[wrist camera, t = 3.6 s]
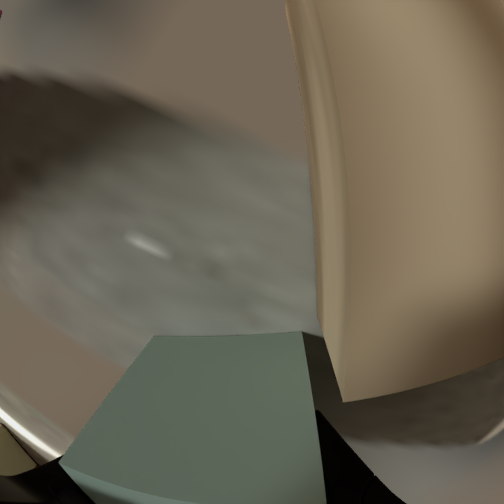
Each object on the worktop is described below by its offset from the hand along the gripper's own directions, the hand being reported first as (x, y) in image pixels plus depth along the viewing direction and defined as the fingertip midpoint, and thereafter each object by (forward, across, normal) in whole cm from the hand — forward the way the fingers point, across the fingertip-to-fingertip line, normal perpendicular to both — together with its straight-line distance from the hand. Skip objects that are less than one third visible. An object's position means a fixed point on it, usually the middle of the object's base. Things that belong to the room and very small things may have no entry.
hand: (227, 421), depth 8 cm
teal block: (+2, 0, 0) cm, 2 cm away
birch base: (+2, -8, -8) cm, 11 cm away
